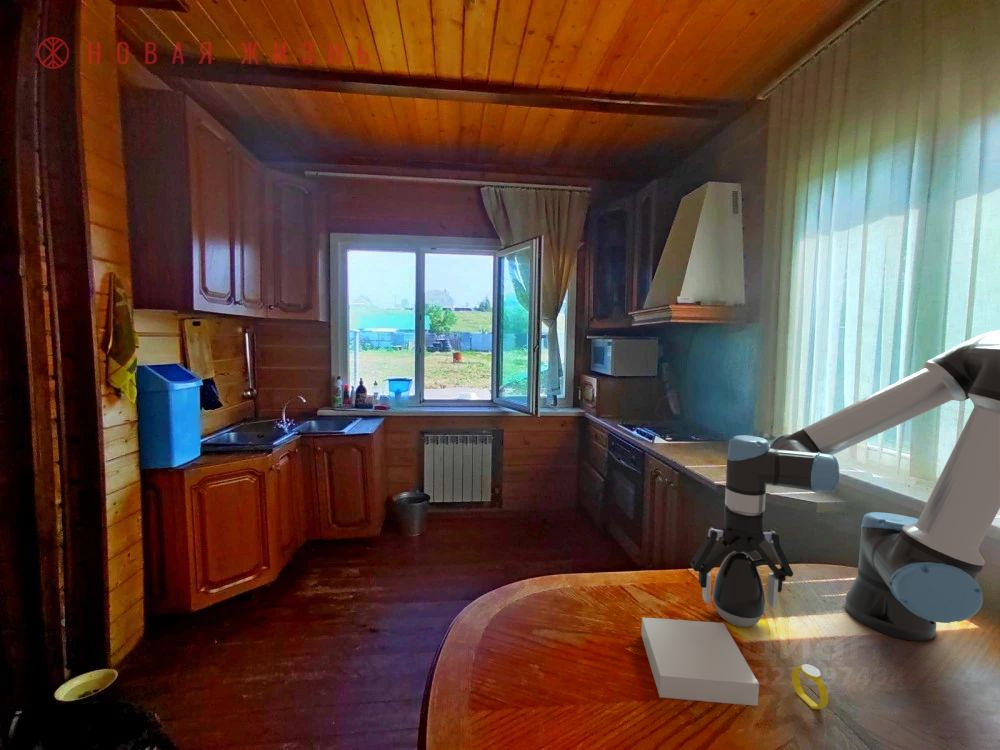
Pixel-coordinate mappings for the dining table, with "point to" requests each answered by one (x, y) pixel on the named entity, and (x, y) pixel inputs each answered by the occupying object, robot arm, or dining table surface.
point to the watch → (816, 676)
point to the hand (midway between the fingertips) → (738, 602)
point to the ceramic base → (698, 662)
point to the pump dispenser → (739, 590)
